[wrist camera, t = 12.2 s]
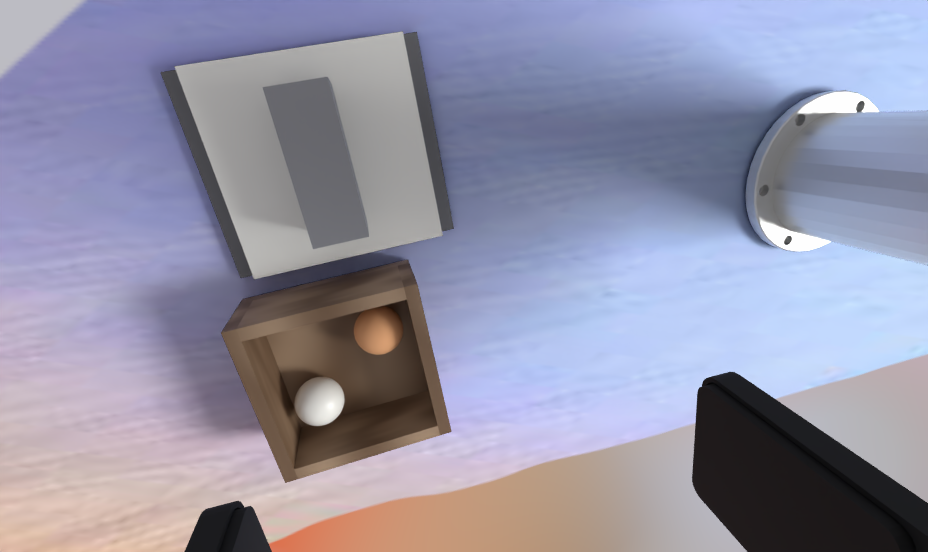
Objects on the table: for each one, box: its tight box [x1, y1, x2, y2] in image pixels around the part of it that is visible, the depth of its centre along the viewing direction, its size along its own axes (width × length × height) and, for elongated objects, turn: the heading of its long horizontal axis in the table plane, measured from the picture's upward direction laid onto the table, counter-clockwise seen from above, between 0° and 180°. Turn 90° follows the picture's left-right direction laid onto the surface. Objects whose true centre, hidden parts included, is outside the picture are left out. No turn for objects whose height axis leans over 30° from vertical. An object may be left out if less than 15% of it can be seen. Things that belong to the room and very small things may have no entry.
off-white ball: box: [294, 377, 345, 426], centre depth 29 cm, size 3×3×3 cm
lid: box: [174, 32, 443, 279], centre depth 24 cm, size 12×12×5 cm
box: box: [221, 260, 451, 483], centre depth 29 cm, size 11×11×5 cm
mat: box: [161, 32, 454, 278], centre depth 27 cm, size 14×12×1 cm
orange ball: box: [354, 306, 403, 355], centre depth 29 cm, size 3×3×3 cm
